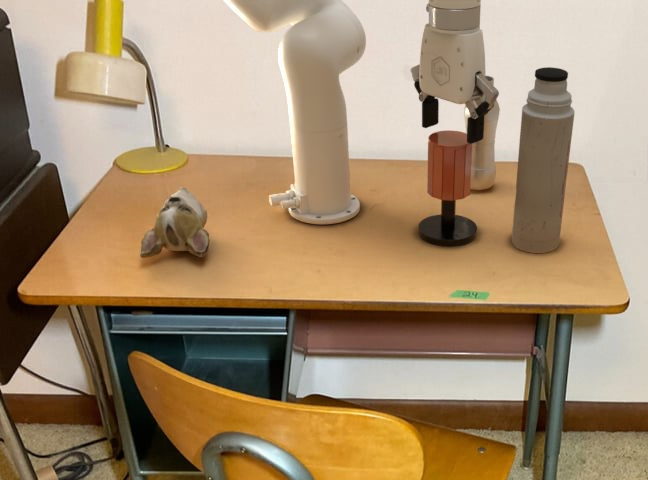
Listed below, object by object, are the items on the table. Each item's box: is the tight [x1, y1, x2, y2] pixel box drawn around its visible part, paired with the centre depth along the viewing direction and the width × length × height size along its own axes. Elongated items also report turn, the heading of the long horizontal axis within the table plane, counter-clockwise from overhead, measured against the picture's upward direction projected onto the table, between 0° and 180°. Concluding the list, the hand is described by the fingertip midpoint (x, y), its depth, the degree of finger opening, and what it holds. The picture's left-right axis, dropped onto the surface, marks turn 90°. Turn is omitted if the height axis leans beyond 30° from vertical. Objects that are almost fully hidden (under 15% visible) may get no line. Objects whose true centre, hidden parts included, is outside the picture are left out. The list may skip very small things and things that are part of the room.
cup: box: [426, 130, 472, 201], centre depth 137 cm, size 7×7×9 cm
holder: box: [418, 200, 478, 248], centre depth 139 cm, size 10×10×16 cm
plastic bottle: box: [463, 75, 501, 191], centre depth 154 cm, size 6×7×20 cm
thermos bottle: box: [511, 66, 575, 254], centre depth 134 cm, size 8×8×28 cm
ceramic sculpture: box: [139, 186, 211, 259], centre depth 136 cm, size 11×9×15 cm
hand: (452, 133), depth 134 cm, fingers open, 9 cm apart
